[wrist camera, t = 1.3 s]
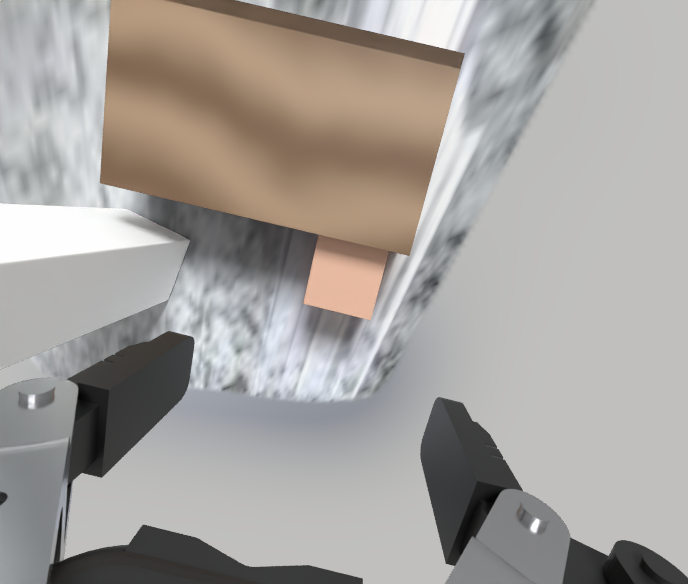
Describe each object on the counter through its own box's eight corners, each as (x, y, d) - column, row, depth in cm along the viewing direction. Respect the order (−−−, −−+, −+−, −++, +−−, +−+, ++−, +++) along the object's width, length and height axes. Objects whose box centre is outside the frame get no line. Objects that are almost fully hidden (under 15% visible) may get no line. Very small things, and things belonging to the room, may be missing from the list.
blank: (339, 171, 27) (334, 160, 22) (400, 186, 27) (408, 178, 22) (313, 289, 29) (303, 303, 24) (369, 303, 29) (370, 320, 24)
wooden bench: (173, 31, 25) (112, -29, 19) (439, 93, 25) (464, 53, 19) (157, 191, 28) (100, 183, 22) (399, 247, 28) (409, 255, 22)
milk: (107, 270, 30) (-587, 410, 8) (127, 207, 28) (-642, 169, 7) (170, 301, 30) (-341, 515, 8) (193, 239, 28) (-345, 302, 7)
